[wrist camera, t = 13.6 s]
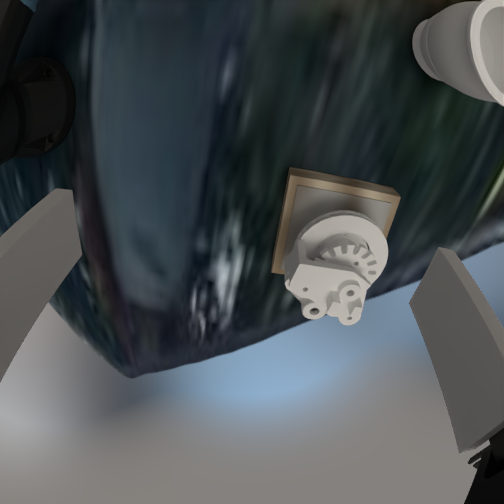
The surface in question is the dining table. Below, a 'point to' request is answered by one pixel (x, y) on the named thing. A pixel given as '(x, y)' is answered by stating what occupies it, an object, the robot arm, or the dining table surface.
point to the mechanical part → (336, 264)
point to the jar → (465, 48)
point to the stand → (328, 205)
